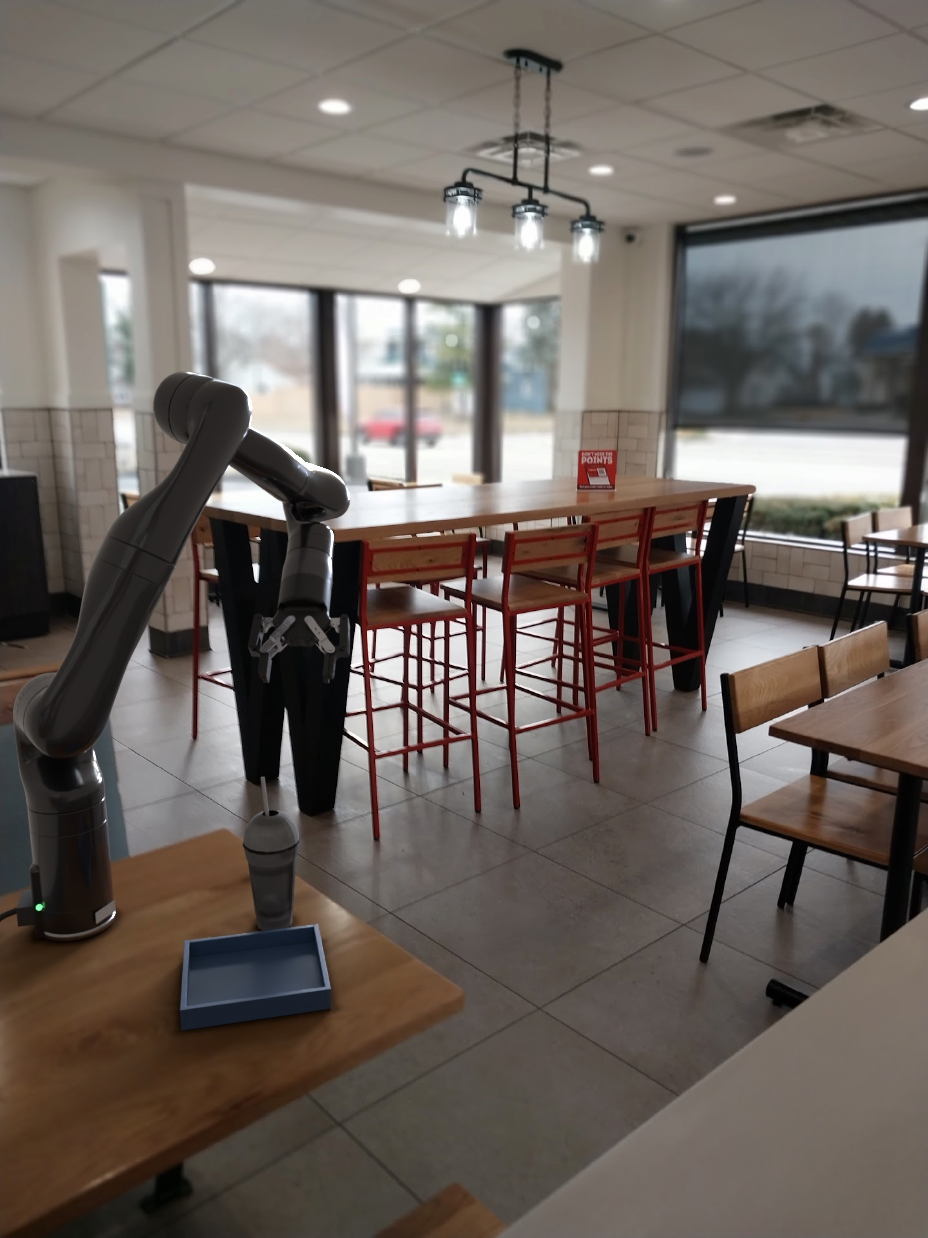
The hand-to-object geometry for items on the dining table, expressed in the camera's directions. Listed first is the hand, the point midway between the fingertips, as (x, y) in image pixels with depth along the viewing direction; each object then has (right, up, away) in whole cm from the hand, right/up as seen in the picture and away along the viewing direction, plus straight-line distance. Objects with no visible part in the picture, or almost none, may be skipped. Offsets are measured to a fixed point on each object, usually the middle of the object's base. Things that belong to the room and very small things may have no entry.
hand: (295, 680), depth 133 cm
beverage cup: (-1, -31, -9) cm, 33 cm away
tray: (-1, -34, -22) cm, 41 cm away
